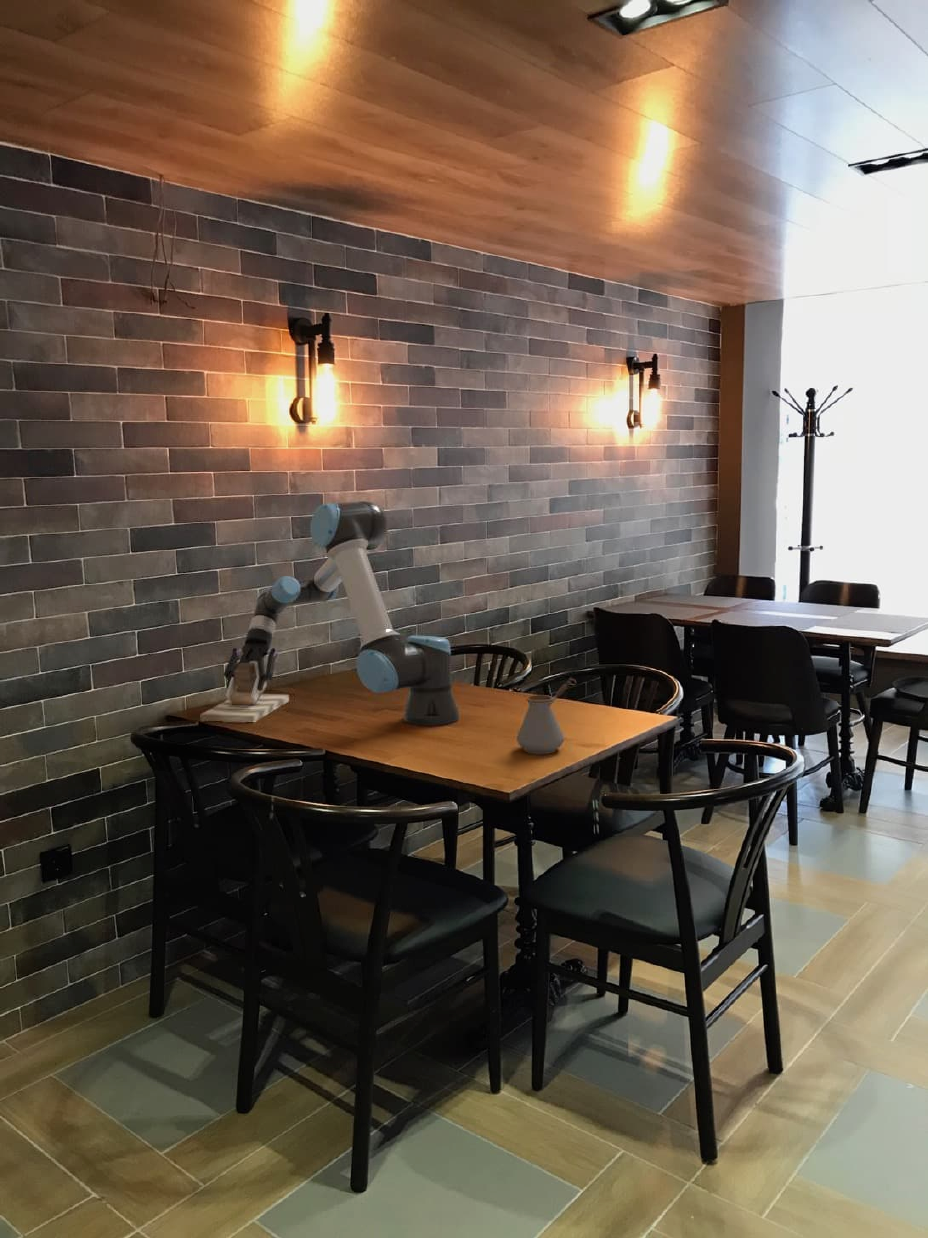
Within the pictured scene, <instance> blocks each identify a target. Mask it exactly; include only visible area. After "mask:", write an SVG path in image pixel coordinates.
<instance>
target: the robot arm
mask: <svg viewBox="0 0 928 1238" xmlns="http://www.w3.org/2000/svg"><path fill="white" fill-rule="evenodd" d="M388 520H389V519H388V518H387V514H386V513H385V511H384V510H383V509H382V508H381V507H380V506H379V505H377V503H376V504H375V503H373V502H370V501H356V502H355V501H354V502H353V501H351V502H331V503H323V504H321V505H320V506H319V505H318V507H316V509H315V511H314V512H313V514H312V517H311V521H310V535H311V539H312V542H313V543H314V545H315V546H317V547H318V548H321V549H325V552H326V555H327V557H328V558H327V559H326V561H325V562H324V563H323V564H322V565H321V567H320V568H319V569H318V570H317V571H316V573H314V575H313V576H312V577H310V578H303V579H296V578H294V577H292V576H289V575H288V576H287V575H284V576H282V577H281V578H279V579H278V580H276V581H275V582H274V583H273V584H272V586H271V587H267V588H263V589H262V590H261V591H260V593H259V595H258V597H257V601H256V604H255V608H254V612H253V614H252V615H253V616H252V618H251V621H250V624H249V628H248V631H247V633H246V636H245V639H244V645H243V646H242V647H241V648H237V647H234V648H232V654H231V657H230V659H229V661H228V664H227V665H226V667H225V670H224V672H223V675H224V677H225V679H226V680H227V682H226V685H225V686H226V689H227V690H226V693H225V698H226V700H229V701H231V696H232V695H233V693H234V692H235V690H236V689H237V684H236V680H235V675H234V671H235V669H236V668H237V666H238V665H239V664H240V663H251V662H257V668H258V677H257V678H256V681H255V684H254V687H253V691H252V694H251V698H252V699H253V701H254V702H256V701H257V698H258V694H259V691H262V689H263V686H264V683H265V681H266V682H267V681H272V680H273V674H274V671H275V670H274V668H275V662H276V658H277V656H278V651H277V650H276V648H274V647H272V648H270V647H271V644H272V642H273V637H274V634H275V631H276V627H277V623H278V621H279V617H280V614H282V613H283V612H284V611H285V610H286V609H287V608H288V607H290V606H298V605H299V606H300V605H306V604H307V605H308V604H314V603H325V602H329V601H333V600H334V599H336V598H337V596H338V592H339V585H340V584H341V583H342V584H343V587H344V590H345V593H346V596H347V599H348V602H349V604H350V608H351V611H352V614H353V617H354V620H355V622H356V626H357V627H358V631H359V634H360V636H361V640H362V642H361V644H360V646H359V652H360V653H359V654H358V656H357V658H356V664H357V665H356V671H357V675H358V677H359V679H360V681H361V683H362V684H363V685H364V687H366V689H368V690H370V691H371V692H373V693H375V694H376V693H377V694H380V693H392V692H394V691H396V690H400V689H402V690H403V689H406V688H408V689H409V693H408V698H407V700H406V701H407V702H406V707H405V709H404V712H403V719H404V720H403V721H404V723H406V724H409V725H414V726H425V727H426V726H428V727H435V726H442V725H448V724H449V725H450V724H452V723H455V722H457V721H458V720H459V719H460V710H459V708H458V706H457V703H456V700H455V696H454V694H453V690H452V689H453V687H452V685H453V684H452V652H451V643H450V641H449V640H448V639H447V638H444V637H440V636H432V635H431V636H429V635H410V636H408V637H407V639H406V643H404V639H403V638H402V637H403V636H402V634H401V633H399V632H397V631H395V630H394V628H393V625H392V623H391V619H390V617H389V615H388V612H387V609H386V605H385V603H384V600H383V597H382V594H381V591H380V589H379V586H378V583H377V581H376V577H375V575H374V571H373V569H372V565H371V563H370V561H369V558H368V553H369V552H370V551H374V550H377V548H378V547H379V546H380V545H382V543H383V542H384V540H385V538H386V537H387V534H388V530H389V521H388ZM267 655H268V658H267V663H266V667H265V659H264V658H265V657H266V656H267ZM265 668H266V670H265Z"/></svg>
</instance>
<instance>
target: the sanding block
mask: <svg viewBox="0 0 928 1238" xmlns="http://www.w3.org/2000/svg"><path fill="white" fill-rule="evenodd" d="M256 671H257V670H256V667H255V663H253V662H250V663H240V664H239V665H238V666H237V668H236V669H235V671H234V675H235V680H236V684H237V685H236V688H235V691H234V693H233V695H232V696H231V703H232V705H255V704H256V703H257V701H258V699H259V698H260V696H261V695H262V694H264V693H263V692H265V690H266V688H267V687H268V685H267V684H268V683H267V680H266V681H265V683H264V686H263V689H262V691H259V694H258V698H257V701H256V702H254V701H253V699H252V698H251V694H252V691H253V687H254V684H255V681H256V678H258V677H257V672H256Z"/></svg>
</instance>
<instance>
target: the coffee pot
mask: <svg viewBox="0 0 928 1238" xmlns="http://www.w3.org/2000/svg"><path fill="white" fill-rule="evenodd" d="M572 681H574V682H575V683H574V684H573V683H572ZM576 683H577V681H576V680H575V679H573V677H570V678H569V679H568V680H567V681H565V682H564V684H563V685H562V686H561V687H560V688H559V689H558V690H557V692H556V693H555V694H554V695H553V696H550V695H546V694H535V695H530V696H526V698H525V699H526V701H528V709H527V711H526V712H525V713H526V714H525V717H524V718H523V721H522V723H521V726H520V728H519V731H518V732H517V733H518V734H517V736H516V741H517V743H518V745H519V746H520V747H521V748H522V749H523V750H524V751H525V752H526V753H529V754H535V755H545V754H552V753H554V752H556V751H557V749H558V748H560V747H561V746H562V744H563V743H564V741H565V736H564V734H563V732H562V728H561V727H560V724H559V723H558V719H556V716H555V713H554V711H553V709H552V707H551V706H552V705H553V703H554V702H555V701H556V699H558V698H559V697H560V696H561V695H562V694H563V693H564V692H565V691H566V689H567V687H569V686H570V685H572V686H574V685H576Z"/></svg>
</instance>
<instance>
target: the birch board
mask: <svg viewBox="0 0 928 1238" xmlns="http://www.w3.org/2000/svg"><path fill="white" fill-rule="evenodd" d="M288 702H290V695H289V694H276V693H273V694H272V693H270V694H269V693H262V695H261V696H260V698H259V699H258V701H257V703H256V704H255V705H232V703H231V701H229V700H228V699H226V700H225V701H223V702H221V703H219V704H217V705H215V706H214V707H212V708H210V709H208V710H206V711H204V712H202V713H201V714H200V716H199V717H200V719H199V720H200V722H203V721H206V720H207V721H208V720H210V721H223V722H222V723H246V722H254V723H256V722H257V721H259V720H261V719H262V718H264V717H265V716H267V715H269V714H271V713H272V712H274V711H276V710H277V709H278V708H280V707H282V706H284V705H285V704H286V703H288ZM281 705H282V706H281ZM273 710H274V711H273Z"/></svg>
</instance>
